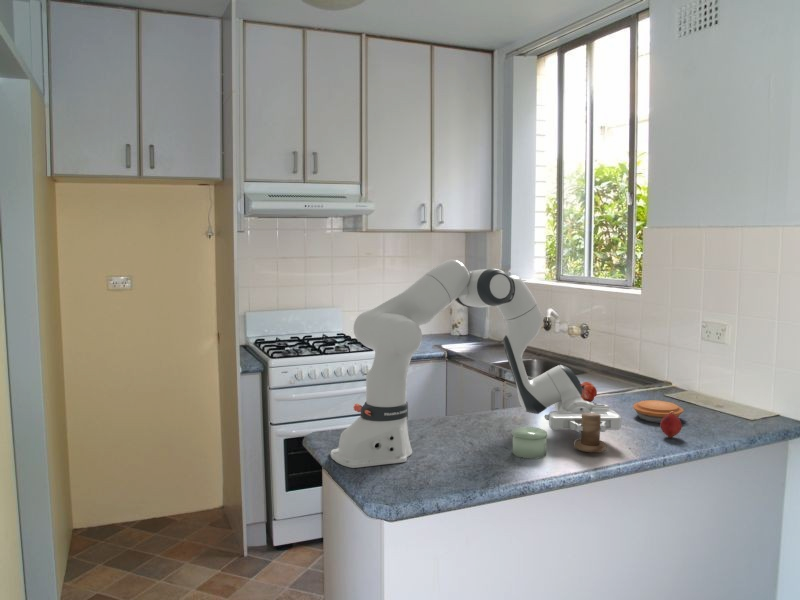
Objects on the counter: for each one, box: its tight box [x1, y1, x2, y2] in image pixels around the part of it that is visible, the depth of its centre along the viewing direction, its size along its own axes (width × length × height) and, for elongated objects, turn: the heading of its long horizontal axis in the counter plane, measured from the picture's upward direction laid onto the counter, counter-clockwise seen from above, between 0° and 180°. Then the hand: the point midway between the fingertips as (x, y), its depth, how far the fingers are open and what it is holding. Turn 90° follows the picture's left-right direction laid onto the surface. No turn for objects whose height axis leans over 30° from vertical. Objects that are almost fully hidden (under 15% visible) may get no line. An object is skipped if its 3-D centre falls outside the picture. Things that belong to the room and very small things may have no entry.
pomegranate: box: [581, 381, 598, 403], centre depth 242 cm, size 7×7×10 cm
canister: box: [511, 426, 548, 460], centre depth 186 cm, size 10×10×6 cm
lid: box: [573, 412, 607, 453], centre depth 186 cm, size 8×8×9 cm
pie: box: [632, 399, 684, 424], centre depth 221 cm, size 15×16×5 cm
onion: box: [659, 411, 683, 439], centre depth 200 cm, size 6×6×8 cm
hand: (591, 428), depth 185 cm, fingers closed on lid, 5 cm apart
